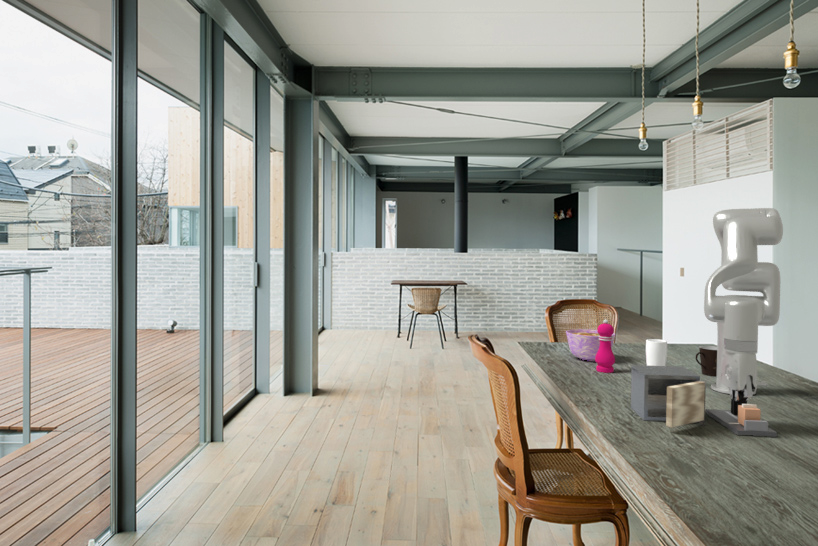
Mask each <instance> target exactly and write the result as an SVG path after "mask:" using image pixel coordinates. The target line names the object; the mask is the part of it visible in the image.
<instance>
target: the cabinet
mask: <svg viewBox="0 0 818 546" xmlns="http://www.w3.org/2000/svg"><path fill="white" fill-rule="evenodd" d="M630 376H631V379H630V380H631V381H630V409H632V410H633V411H634V412H635V413H636V414H637V416H639V417H640V418H641V419H642V420H643V421H648V422H649V421H651V422H652V421H653V422H654V421H655V422H666V409H667V387H669V386H674V385H680V384H686V383H691V382H697V381H701V380H700V379H701V377H700V375H698V374H697V373H694V372H693V371H691V370H690V369H688V368H686V367H684V366H675V365H674V366H673V365H670V366H669V365H666V366H647V365H644V364H643V365H640V364H639V365H638V364H633V365H631V374H630ZM695 423H697V424H700V421H698V422H695Z"/></svg>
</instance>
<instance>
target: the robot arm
mask: <svg viewBox="0 0 818 546" xmlns="http://www.w3.org/2000/svg"><path fill="white" fill-rule="evenodd" d="M712 224H713V229H714V232H715V235H716V238H717V240H718V242H719V244H720V249H721V261H720V262H721V263H720V266H719V267H717V269H715V270H714V271H713V272H712V273H711V275H710V276H709V278H708V279H707V281H706V284H705V286H704V287H705V288H704V298H703V299H704V303H703V311H704V312H703V313H704V316H705V317H706V319H707V321H710V322H713V323H716V325H717V328H716V329H717V344H716V345H717V346H716V347H717V376H716V382H715V383H714V382H713V383H711V385H710V389H711V390H714V391H715V392H718V393H721V394H722V393H723V394H727V395H728V394H729V395H730V410H731V413H732V414H733V415H735V416H738V405H742V404H748V401H749V398H753V396H754V395H755V394H756V393H757V389H758V387H759V388H767V386H768V383H767V381H766V380H758V362H757V354H758V345H759V344H758V343H759V342H758V340H759V327H760V326H761V327H772V326H775V325H777V323H779V319H780V311H781V310H780V308H781V307H780V305H781V272H780V268H779V267H778V266H777V265H776V264H775V263H773V262H766V261H763V262H762V261H761V262H760V261H759V260H758V259H759V257H758V246H776V245H778V244H779V243H780V242H781V241H782V239H783V234H784V226H783V222H782V218H781V216H780V213H779V211H778V210H777V209H776V208H772V207H760V208H759V207H758V208H731V209H723V210H719V211H717V212H716V213H714V214H713V217H712ZM720 285H721V286H722V288H723V289H725V290H727V291H733V292H753V293H754V292H755V293H756V292H757V293H760V294H762V295H744V294H742V295H739V294H728V295H717V294H716V292H717V288H718V287H720Z"/></svg>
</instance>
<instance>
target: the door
mask: <svg viewBox="0 0 818 546" xmlns="http://www.w3.org/2000/svg"><path fill="white" fill-rule="evenodd" d="M706 384H707V381H705V380H700V381H697V382H691V383H686V384H680V385H674V386H669V387H667V409H666V421H665V426H666V427H669V428H670V429H671V428H676V427H680V426H681V427H682V426H684V425H689V424H693V423H696V422H698V421H699V425H700V426H705V424H706V388H707V386H706Z"/></svg>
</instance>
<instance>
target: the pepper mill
mask: <svg viewBox="0 0 818 546" xmlns="http://www.w3.org/2000/svg"><path fill="white" fill-rule="evenodd" d="M596 330H597V332H598V333H599V335H600V336H599V340H600V346H599V350H598V352H597V354H596V357H595V361H594V362H595V363H596V367H595V368H596V371H597V373H602V372H603V373H604V374H605V373H606V374H609V373H610V374H612V373H614V370H615V368H614V365H615V363H616V357H615V354H614V352H613V350H612V349H613V348H612V349H611V340H612V334H613V333H615V329H614V326H613V325H612V324H611V323H609V320H608V319H606V318H605V319H604V320H603V321H602V323H601V324H599V325H598V326H597V328H596Z"/></svg>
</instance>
